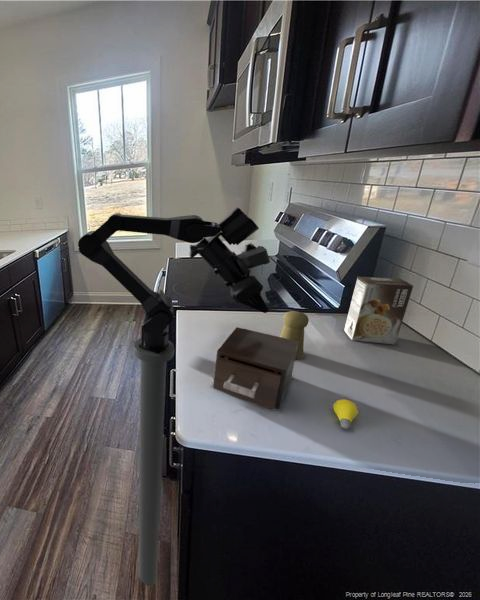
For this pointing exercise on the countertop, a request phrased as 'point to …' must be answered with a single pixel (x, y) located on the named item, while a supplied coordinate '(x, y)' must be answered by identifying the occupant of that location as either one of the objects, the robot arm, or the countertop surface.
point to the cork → (295, 329)
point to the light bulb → (345, 412)
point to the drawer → (247, 381)
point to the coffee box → (377, 309)
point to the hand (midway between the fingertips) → (261, 304)
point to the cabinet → (262, 354)
